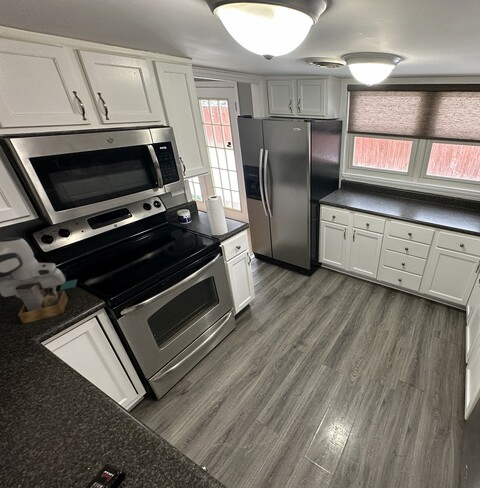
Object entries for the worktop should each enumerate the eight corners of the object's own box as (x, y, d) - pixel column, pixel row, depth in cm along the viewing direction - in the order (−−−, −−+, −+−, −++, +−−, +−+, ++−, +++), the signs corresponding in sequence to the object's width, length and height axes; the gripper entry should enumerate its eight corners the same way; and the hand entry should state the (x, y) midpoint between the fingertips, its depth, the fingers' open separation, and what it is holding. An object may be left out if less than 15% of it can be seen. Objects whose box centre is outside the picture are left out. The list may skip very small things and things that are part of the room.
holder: (22, 324, 115) (17, 315, 113) (31, 307, 125) (26, 298, 123) (63, 313, 122) (58, 304, 120) (68, 298, 132) (64, 290, 129)
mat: (60, 290, 137) (59, 289, 137) (62, 283, 143) (62, 282, 143) (75, 287, 140) (74, 286, 140) (77, 280, 146) (77, 279, 146)
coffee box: (47, 304, 127) (32, 276, 120) (62, 303, 128) (48, 275, 121) (31, 317, 119) (13, 287, 112) (46, 316, 120) (30, 287, 113)
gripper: (-12, 282, 107) (5, 308, 113) (56, 268, 117) (68, 293, 123) (-6, 274, 111) (10, 300, 117) (59, 262, 122) (71, 287, 128)
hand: (40, 297), depth 120 cm, fingers closed on coffee box, 8 cm apart
